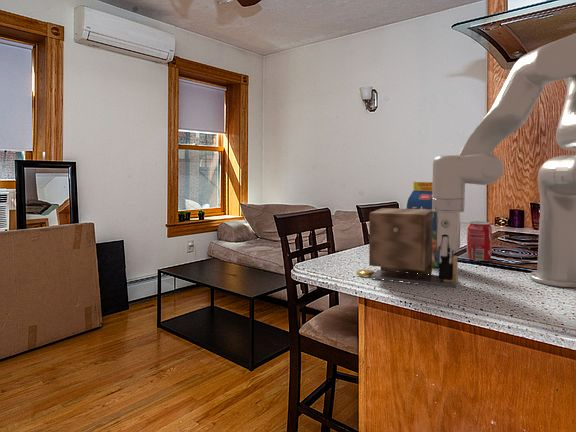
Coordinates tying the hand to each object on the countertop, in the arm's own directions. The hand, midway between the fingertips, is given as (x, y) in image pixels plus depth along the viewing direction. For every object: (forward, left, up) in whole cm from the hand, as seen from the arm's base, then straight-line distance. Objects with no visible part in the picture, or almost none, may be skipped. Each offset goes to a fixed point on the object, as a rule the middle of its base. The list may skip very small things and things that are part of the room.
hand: (446, 276), depth 102 cm
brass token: (+21, 0, -2) cm, 21 cm away
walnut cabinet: (+12, -1, -2) cm, 12 cm away
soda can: (-6, -31, -2) cm, 32 cm away
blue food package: (+8, -21, -2) cm, 22 cm away
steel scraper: (+8, 0, -2) cm, 8 cm away
